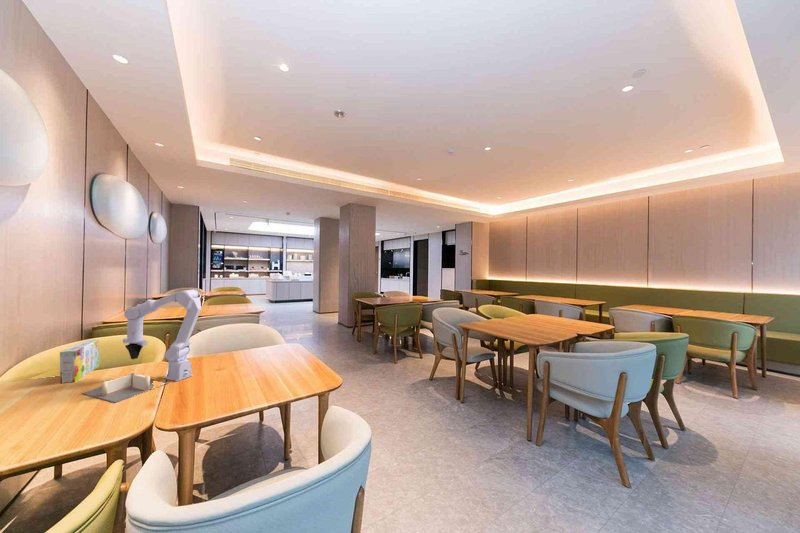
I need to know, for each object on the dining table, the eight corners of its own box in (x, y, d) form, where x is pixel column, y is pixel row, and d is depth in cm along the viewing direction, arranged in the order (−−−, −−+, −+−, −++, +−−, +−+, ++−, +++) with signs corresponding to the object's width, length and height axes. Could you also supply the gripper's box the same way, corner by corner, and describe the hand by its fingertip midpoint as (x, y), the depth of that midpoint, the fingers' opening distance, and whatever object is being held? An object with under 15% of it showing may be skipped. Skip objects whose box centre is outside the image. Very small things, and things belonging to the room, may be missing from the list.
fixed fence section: (150, 389, 128) (150, 375, 128) (146, 390, 127) (146, 377, 127) (136, 385, 131) (136, 372, 131) (131, 387, 130) (132, 374, 129)
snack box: (85, 368, 150) (85, 339, 150) (99, 366, 153) (100, 338, 153) (58, 384, 131) (59, 351, 131) (75, 382, 133) (76, 350, 133)
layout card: (167, 383, 135) (168, 382, 135) (115, 402, 116) (115, 401, 116) (136, 376, 142) (136, 375, 142) (81, 393, 122) (81, 392, 122)
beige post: (132, 383, 132) (133, 372, 131) (135, 384, 131) (135, 372, 131) (101, 394, 120) (101, 382, 120) (103, 395, 120) (103, 382, 120)
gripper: (115, 331, 139) (114, 359, 139) (135, 334, 134) (134, 363, 135) (132, 328, 145) (131, 354, 146) (152, 331, 141) (151, 358, 141)
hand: (134, 358), depth 140 cm, fingers closed
